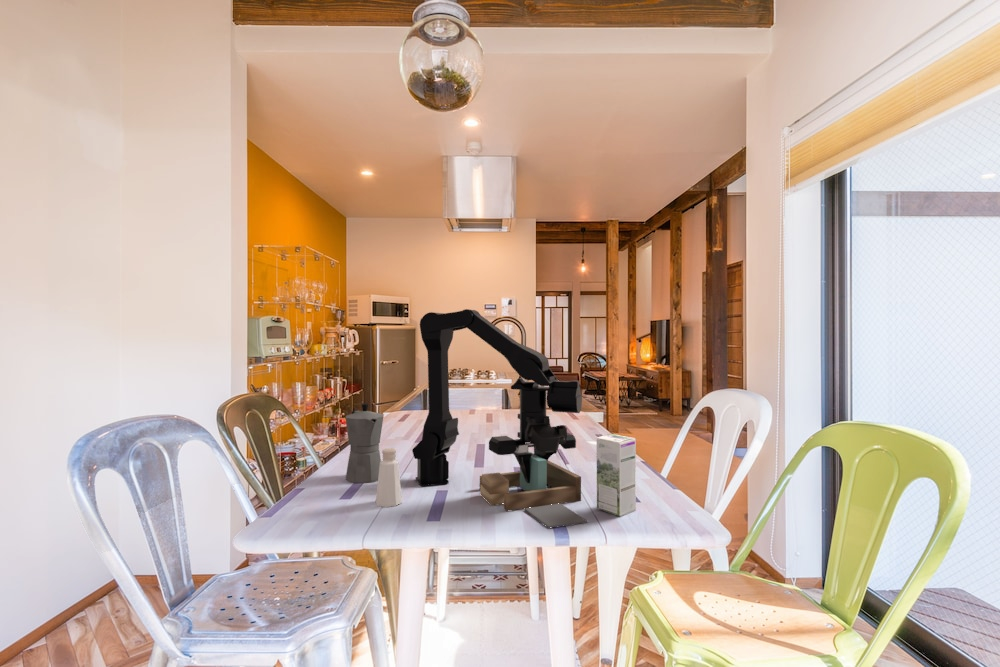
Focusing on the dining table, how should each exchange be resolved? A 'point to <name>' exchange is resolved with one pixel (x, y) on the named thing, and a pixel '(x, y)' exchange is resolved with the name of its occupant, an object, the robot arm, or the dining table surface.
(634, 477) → the syrup box
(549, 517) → the mat
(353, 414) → the coffeepot
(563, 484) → the rack
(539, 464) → the teal rectangular block
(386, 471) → the pepper shaker
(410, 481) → the dining table surface
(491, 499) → the offcut lower
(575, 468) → the dining table surface
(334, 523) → the dining table surface
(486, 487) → the offcut upper
